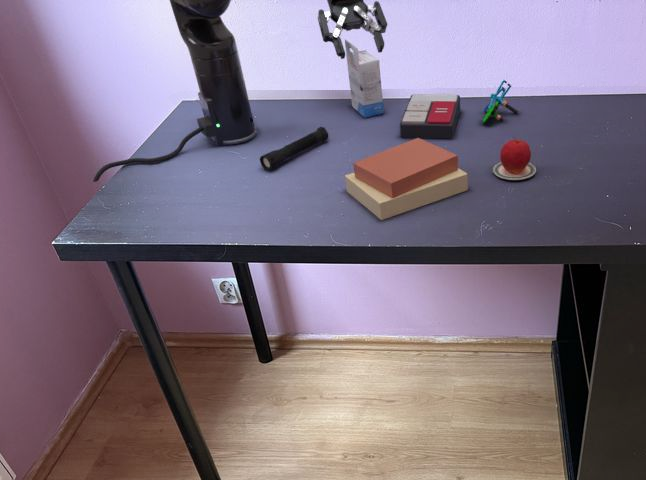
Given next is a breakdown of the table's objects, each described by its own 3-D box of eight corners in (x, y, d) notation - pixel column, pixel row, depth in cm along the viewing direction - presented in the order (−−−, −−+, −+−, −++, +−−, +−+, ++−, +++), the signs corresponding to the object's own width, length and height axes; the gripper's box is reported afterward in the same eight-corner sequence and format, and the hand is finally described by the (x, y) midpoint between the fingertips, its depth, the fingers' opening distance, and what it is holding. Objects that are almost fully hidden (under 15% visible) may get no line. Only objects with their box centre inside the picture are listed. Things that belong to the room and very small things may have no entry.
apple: (506, 159, 128) (507, 126, 124) (543, 169, 124) (545, 135, 120) (484, 175, 123) (485, 142, 119) (522, 186, 120) (523, 151, 115)
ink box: (385, 114, 148) (379, 44, 139) (364, 118, 147) (356, 49, 137) (371, 102, 154) (364, 34, 144) (351, 106, 153) (342, 38, 143)
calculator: (398, 121, 135) (410, 90, 146) (400, 140, 138) (412, 109, 149) (451, 122, 134) (460, 91, 144) (452, 141, 137) (460, 110, 147)
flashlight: (261, 168, 129) (258, 154, 127) (319, 138, 139) (317, 125, 137) (272, 172, 128) (269, 157, 126) (330, 142, 138) (328, 127, 136)
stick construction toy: (487, 94, 148) (505, 70, 142) (512, 112, 150) (531, 89, 144) (472, 129, 142) (490, 106, 136) (498, 147, 144) (518, 125, 138)
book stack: (381, 220, 112) (377, 188, 108) (346, 191, 121) (342, 160, 117) (467, 190, 119) (467, 158, 115) (428, 164, 128) (427, 134, 124)
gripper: (309, -24, 137) (332, 49, 136) (373, -33, 141) (396, 38, 140) (306, -1, 144) (329, 68, 144) (368, -10, 148) (390, 57, 147)
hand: (362, 53), depth 142 cm, fingers open, 8 cm apart
